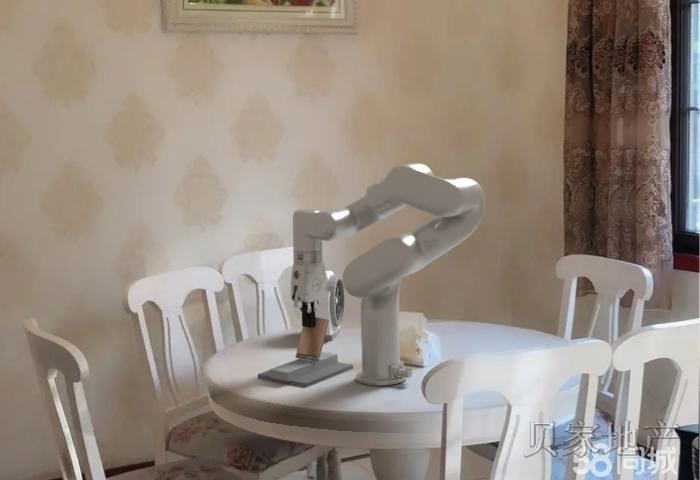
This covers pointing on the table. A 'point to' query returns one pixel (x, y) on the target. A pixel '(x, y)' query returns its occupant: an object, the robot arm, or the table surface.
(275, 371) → the grey ridged base plate
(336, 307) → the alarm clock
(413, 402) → the table surface
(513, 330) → the table surface
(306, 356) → the flap
